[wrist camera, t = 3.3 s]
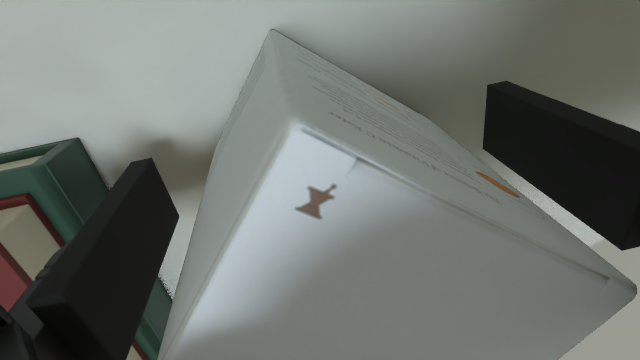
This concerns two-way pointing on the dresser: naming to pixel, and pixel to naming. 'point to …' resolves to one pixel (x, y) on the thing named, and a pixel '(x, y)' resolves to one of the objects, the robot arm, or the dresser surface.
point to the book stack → (58, 226)
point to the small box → (370, 237)
